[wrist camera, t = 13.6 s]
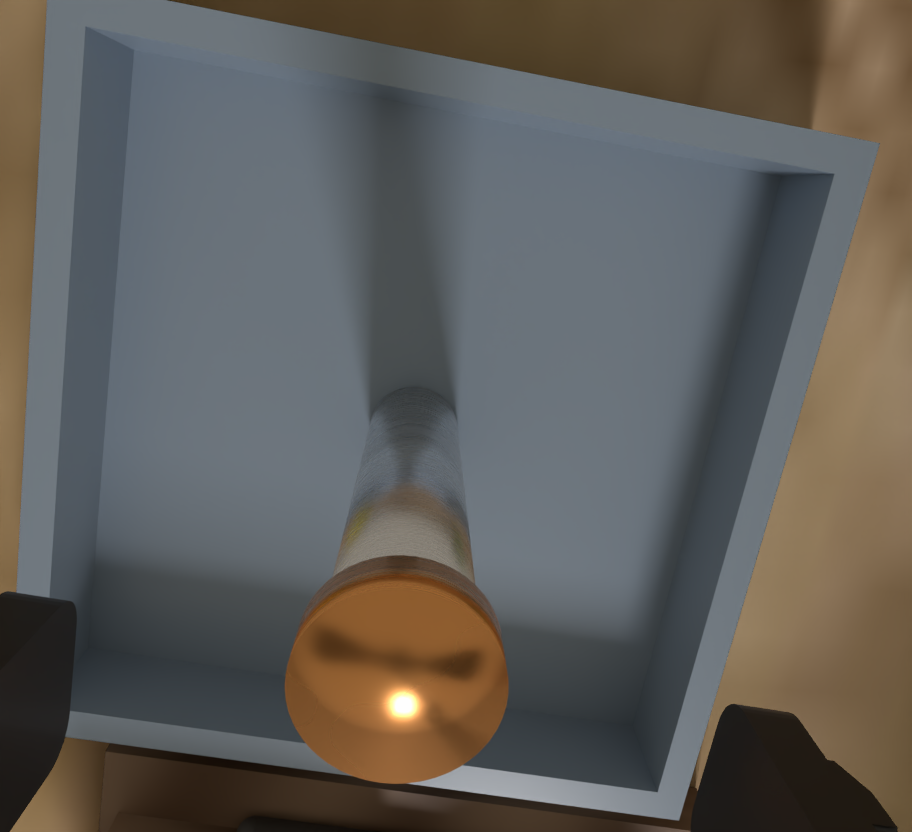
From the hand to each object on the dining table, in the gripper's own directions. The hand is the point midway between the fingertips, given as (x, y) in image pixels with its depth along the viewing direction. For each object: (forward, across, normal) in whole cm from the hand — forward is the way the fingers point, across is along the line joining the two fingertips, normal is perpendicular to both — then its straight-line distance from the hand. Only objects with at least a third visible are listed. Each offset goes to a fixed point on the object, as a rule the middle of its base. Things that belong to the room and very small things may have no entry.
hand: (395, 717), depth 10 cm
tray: (+14, 0, 0) cm, 14 cm away
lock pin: (+13, 0, 0) cm, 13 cm away
